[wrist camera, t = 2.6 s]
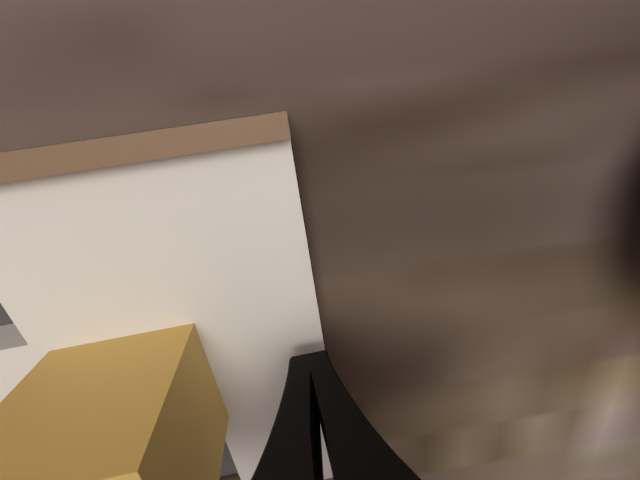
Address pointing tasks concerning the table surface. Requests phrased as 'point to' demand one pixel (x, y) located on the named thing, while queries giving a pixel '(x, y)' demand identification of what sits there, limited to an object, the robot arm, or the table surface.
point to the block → (117, 412)
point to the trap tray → (165, 258)
